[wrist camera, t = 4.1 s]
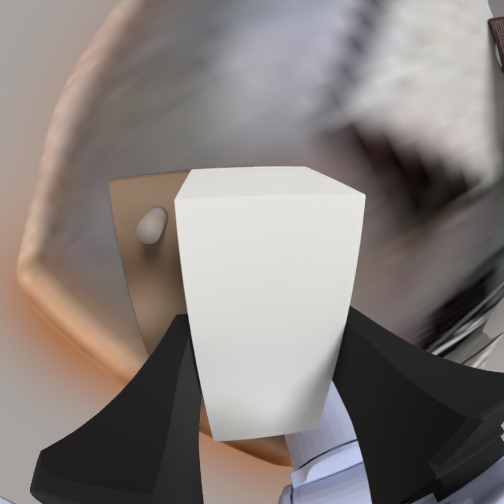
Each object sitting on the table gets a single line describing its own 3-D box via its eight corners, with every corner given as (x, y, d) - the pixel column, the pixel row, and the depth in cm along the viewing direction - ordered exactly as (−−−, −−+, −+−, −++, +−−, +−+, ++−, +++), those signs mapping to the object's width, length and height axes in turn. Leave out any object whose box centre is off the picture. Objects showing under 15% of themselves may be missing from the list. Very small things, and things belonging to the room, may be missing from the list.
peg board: (257, 336, 21) (265, 371, 17) (150, 343, 20) (142, 379, 16) (252, 166, 16) (263, 175, 12) (115, 179, 15) (90, 192, 12)
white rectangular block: (292, 355, 15) (317, 428, 11) (210, 363, 15) (213, 441, 10) (305, 166, 11) (365, 195, 7) (191, 169, 11) (174, 200, 6)
